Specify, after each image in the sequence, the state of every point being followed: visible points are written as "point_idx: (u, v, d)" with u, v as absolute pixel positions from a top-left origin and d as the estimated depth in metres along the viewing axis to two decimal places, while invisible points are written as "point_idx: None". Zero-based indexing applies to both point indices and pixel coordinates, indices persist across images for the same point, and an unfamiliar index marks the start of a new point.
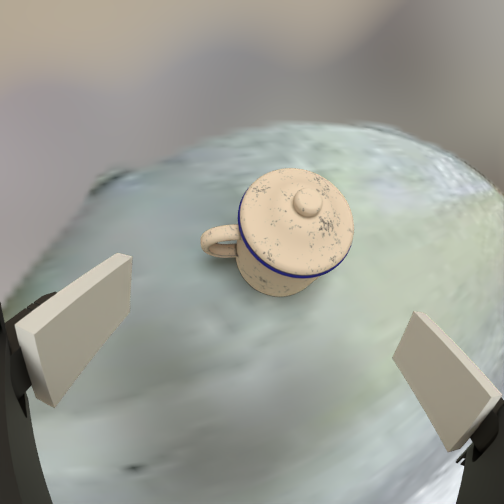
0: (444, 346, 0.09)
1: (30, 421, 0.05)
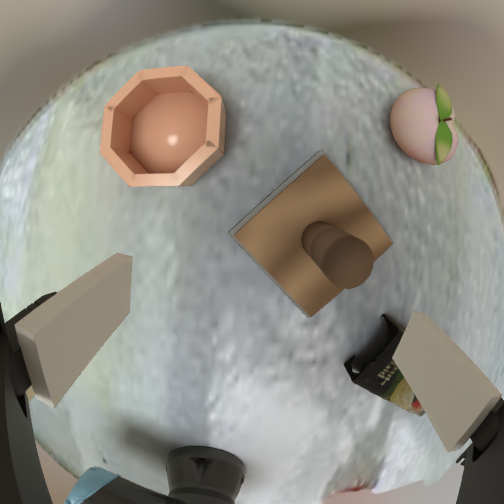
0: (444, 346, 0.09)
1: (30, 421, 0.05)
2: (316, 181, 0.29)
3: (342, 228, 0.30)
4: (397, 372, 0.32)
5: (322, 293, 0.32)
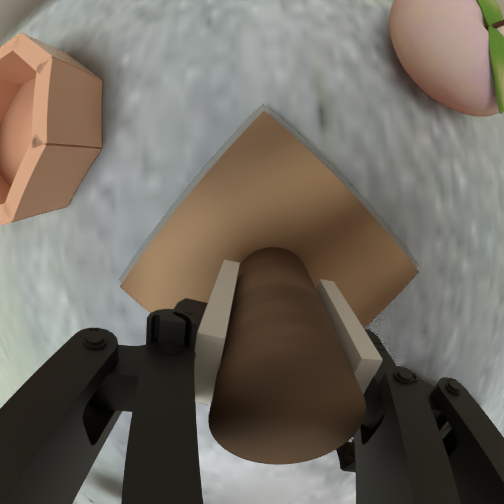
0: (333, 308, 0.11)
1: None
2: (252, 167, 0.14)
3: (317, 256, 0.15)
4: None
5: None
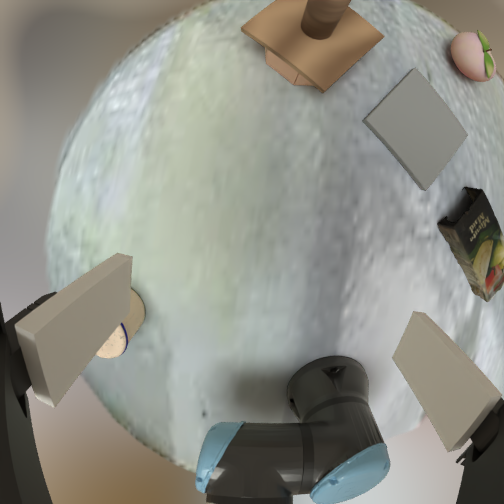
0: (444, 346, 0.09)
1: (30, 421, 0.05)
2: None
3: None
4: (480, 232, 0.34)
5: (330, 68, 0.27)
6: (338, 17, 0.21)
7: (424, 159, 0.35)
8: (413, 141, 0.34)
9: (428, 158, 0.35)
